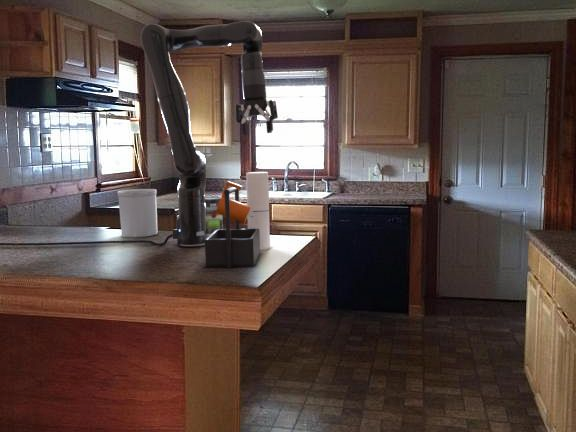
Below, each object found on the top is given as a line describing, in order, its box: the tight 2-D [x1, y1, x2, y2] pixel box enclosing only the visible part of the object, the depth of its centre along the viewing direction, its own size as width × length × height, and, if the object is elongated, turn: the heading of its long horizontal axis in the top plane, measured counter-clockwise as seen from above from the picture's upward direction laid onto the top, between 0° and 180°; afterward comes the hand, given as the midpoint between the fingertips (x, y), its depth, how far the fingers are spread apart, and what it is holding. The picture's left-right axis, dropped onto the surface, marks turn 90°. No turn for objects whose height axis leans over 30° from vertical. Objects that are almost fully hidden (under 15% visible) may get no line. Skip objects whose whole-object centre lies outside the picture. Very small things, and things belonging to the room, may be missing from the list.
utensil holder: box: [116, 188, 158, 238], centre depth 249 cm, size 15×15×18 cm
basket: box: [204, 183, 261, 269], centre depth 189 cm, size 14×24×22 cm, turn 178°
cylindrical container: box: [245, 171, 271, 251], centre depth 210 cm, size 7×7×25 cm
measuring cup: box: [216, 180, 251, 225], centre depth 188 cm, size 10×5×9 cm
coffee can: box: [205, 196, 224, 237], centre depth 246 cm, size 10×10×14 cm
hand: (258, 134), depth 211 cm, fingers open, 8 cm apart
